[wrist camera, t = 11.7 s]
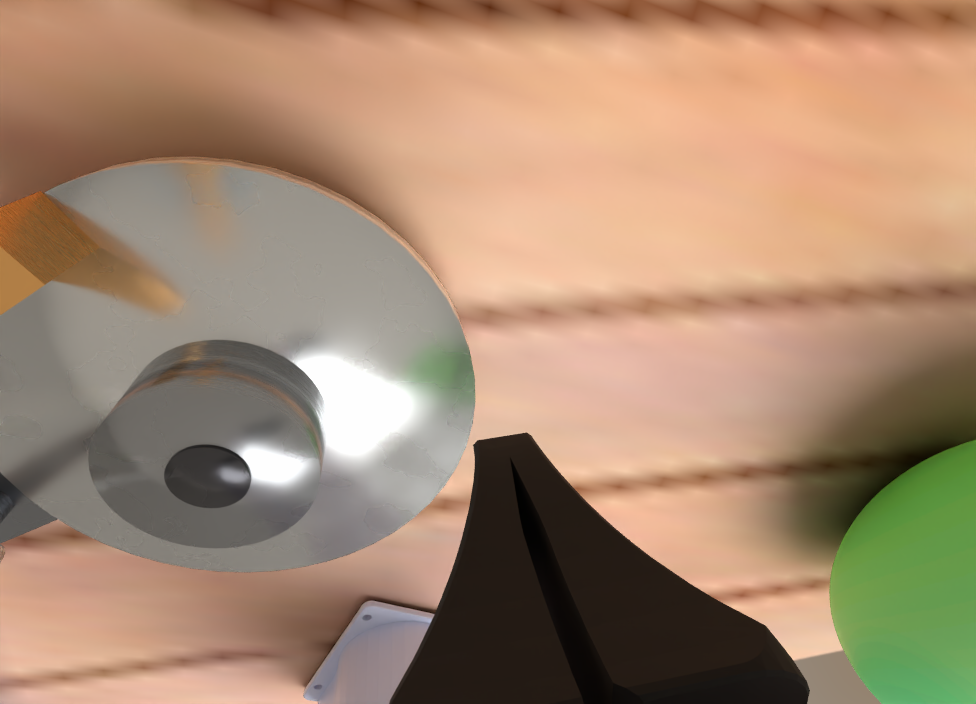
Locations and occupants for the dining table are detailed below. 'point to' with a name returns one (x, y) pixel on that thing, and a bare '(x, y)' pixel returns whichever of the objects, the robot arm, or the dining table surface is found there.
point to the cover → (213, 446)
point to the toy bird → (913, 585)
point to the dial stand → (18, 513)
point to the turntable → (227, 316)
